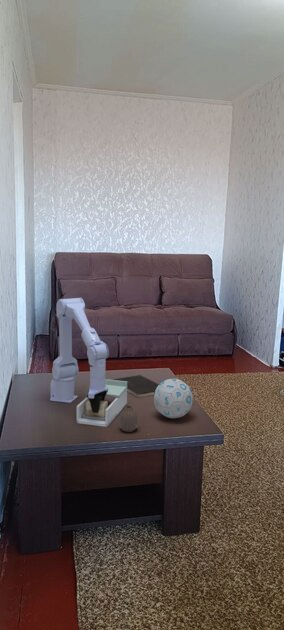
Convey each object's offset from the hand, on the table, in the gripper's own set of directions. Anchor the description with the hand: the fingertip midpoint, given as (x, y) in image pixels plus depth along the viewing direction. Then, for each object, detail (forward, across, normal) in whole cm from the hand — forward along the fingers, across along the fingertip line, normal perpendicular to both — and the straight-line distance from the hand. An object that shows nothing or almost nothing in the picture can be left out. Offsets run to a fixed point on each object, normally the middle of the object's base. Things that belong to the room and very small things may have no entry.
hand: (97, 410), depth 177 cm
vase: (+4, -6, -14) cm, 16 cm away
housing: (+3, +7, 0) cm, 8 cm away
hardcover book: (+4, +41, -6) cm, 42 cm away
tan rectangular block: (+2, 0, 0) cm, 2 cm away
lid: (-3, +13, 0) cm, 13 cm away
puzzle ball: (+4, +11, -27) cm, 29 cm away
